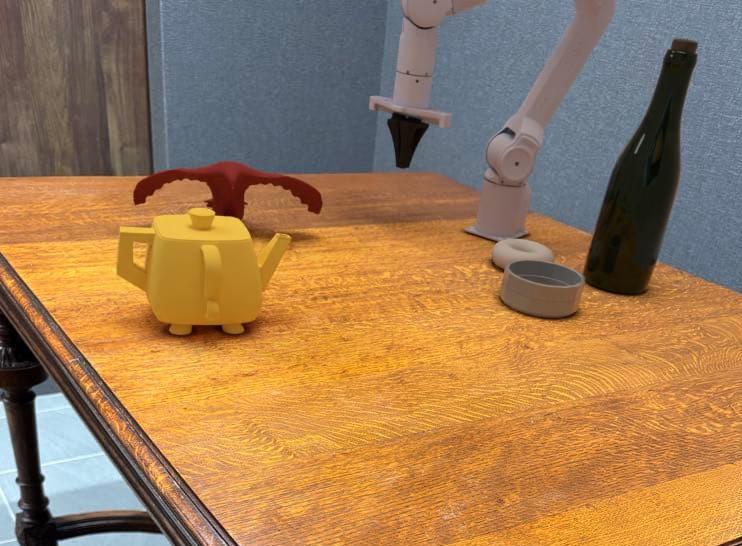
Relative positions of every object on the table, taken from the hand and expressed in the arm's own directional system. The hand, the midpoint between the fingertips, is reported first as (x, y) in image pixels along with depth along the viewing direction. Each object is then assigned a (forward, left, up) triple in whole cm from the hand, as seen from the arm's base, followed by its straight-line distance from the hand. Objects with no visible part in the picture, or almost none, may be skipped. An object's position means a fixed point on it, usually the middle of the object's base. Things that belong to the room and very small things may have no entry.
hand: (402, 167), depth 133 cm
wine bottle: (-6, +38, -10) cm, 40 cm away
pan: (+13, +34, -9) cm, 38 cm away
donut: (0, +25, -10) cm, 26 cm away
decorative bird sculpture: (+26, -14, -10) cm, 31 cm away
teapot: (+53, +8, -10) cm, 54 cm away
